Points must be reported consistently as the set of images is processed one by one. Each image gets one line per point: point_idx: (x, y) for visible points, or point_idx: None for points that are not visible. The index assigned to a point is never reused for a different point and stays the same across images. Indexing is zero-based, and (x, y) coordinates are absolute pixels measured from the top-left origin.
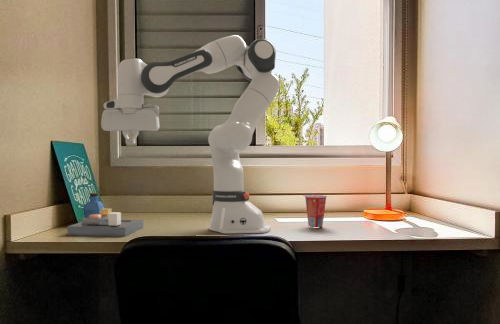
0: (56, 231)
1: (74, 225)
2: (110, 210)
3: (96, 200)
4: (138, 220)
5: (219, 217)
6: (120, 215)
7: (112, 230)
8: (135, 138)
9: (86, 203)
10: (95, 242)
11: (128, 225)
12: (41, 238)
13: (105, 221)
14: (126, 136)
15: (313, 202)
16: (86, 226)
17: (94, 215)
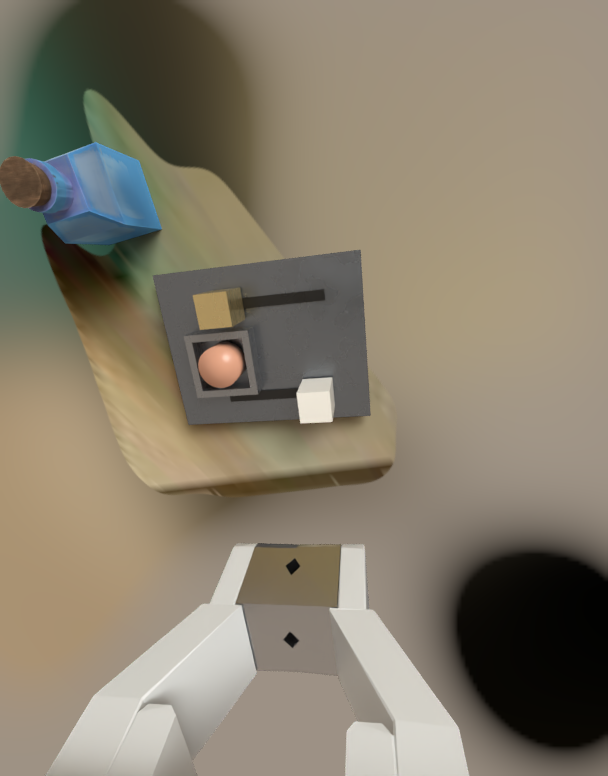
0: (127, 370)
1: (197, 410)
2: (230, 301)
3: (69, 194)
4: (350, 275)
5: None
6: (330, 391)
7: None
8: (378, 634)
9: (52, 227)
10: (327, 476)
11: (363, 382)
12: (167, 454)
13: (255, 348)
14: (225, 706)
15: None
16: (242, 418)
17: (223, 378)
